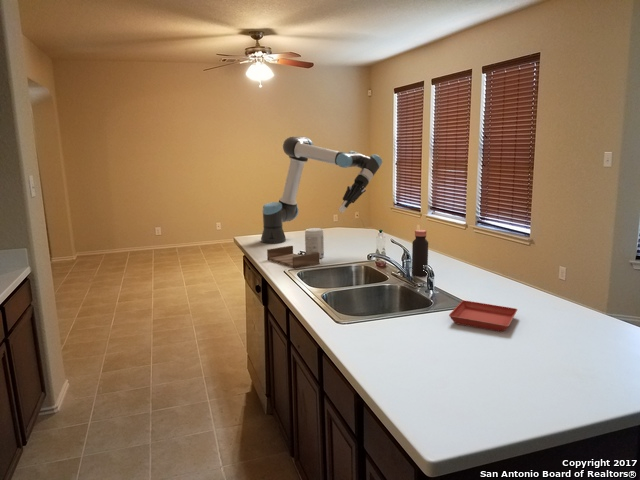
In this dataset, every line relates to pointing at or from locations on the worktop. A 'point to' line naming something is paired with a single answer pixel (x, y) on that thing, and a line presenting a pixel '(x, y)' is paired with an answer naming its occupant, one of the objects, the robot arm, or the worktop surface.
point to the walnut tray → (292, 257)
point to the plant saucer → (483, 315)
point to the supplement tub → (314, 241)
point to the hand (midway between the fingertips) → (340, 211)
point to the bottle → (419, 253)
